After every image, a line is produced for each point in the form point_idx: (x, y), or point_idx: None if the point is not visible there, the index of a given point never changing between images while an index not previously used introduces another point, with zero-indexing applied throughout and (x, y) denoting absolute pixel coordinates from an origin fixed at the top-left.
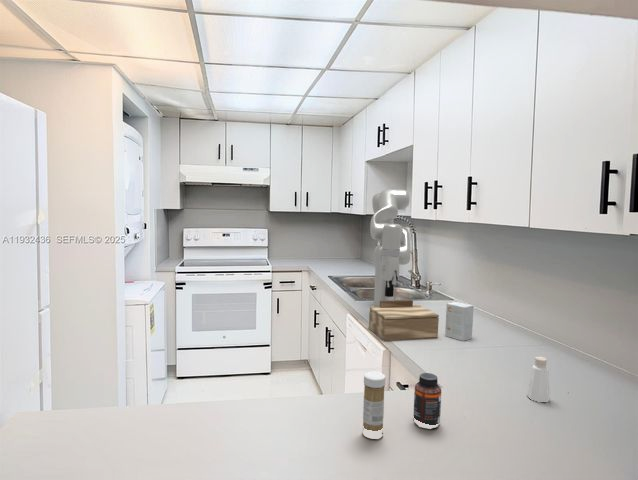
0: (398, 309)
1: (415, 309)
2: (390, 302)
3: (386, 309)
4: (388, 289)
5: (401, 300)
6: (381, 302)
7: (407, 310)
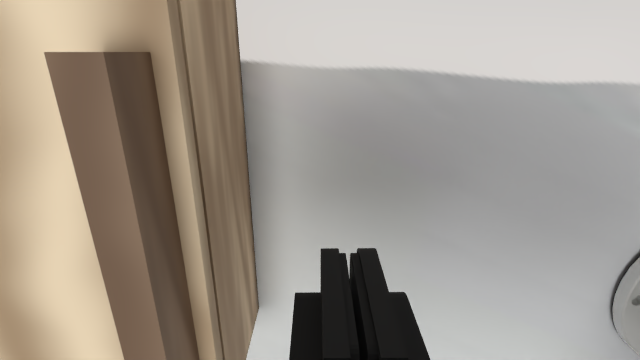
0: (46, 220)
1: (68, 358)
2: (89, 193)
3: (27, 89)
4: (321, 352)
5: (151, 342)
6: (55, 57)
7: (18, 284)
